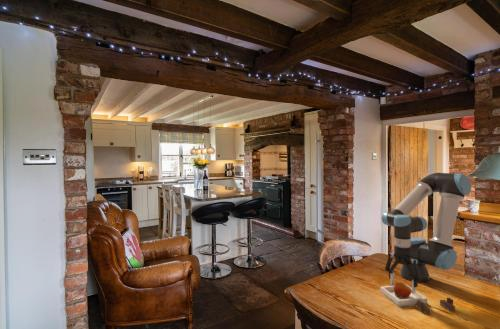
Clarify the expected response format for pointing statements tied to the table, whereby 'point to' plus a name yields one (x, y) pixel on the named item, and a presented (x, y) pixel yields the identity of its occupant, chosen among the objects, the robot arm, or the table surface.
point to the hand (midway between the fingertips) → (402, 289)
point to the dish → (403, 302)
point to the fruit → (402, 290)
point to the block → (443, 303)
